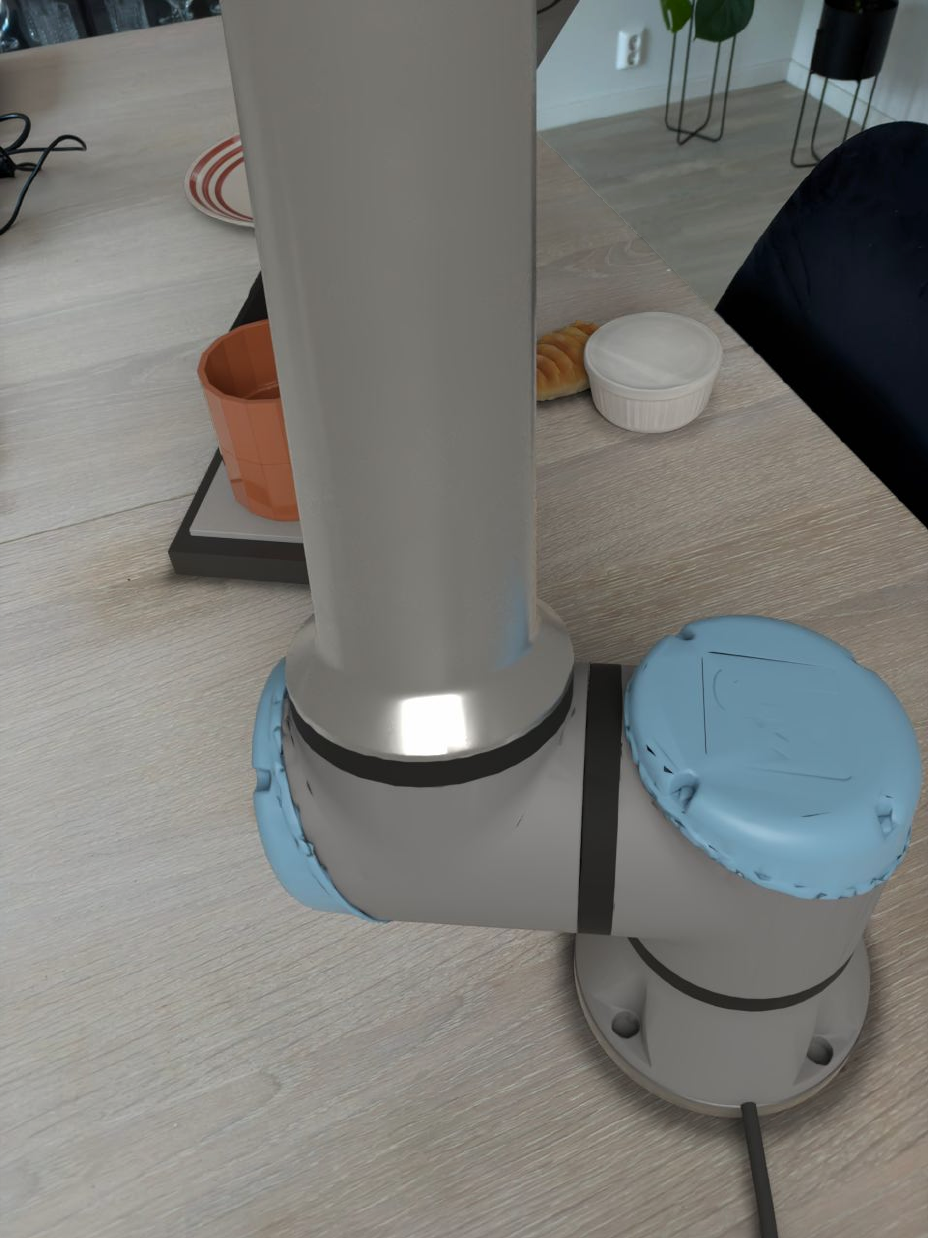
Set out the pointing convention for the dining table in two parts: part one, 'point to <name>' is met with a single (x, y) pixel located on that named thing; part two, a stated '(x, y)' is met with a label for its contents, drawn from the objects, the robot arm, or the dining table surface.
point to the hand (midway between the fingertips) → (283, 389)
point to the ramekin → (652, 370)
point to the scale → (235, 538)
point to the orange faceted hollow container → (250, 420)
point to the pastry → (562, 361)
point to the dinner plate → (221, 182)
